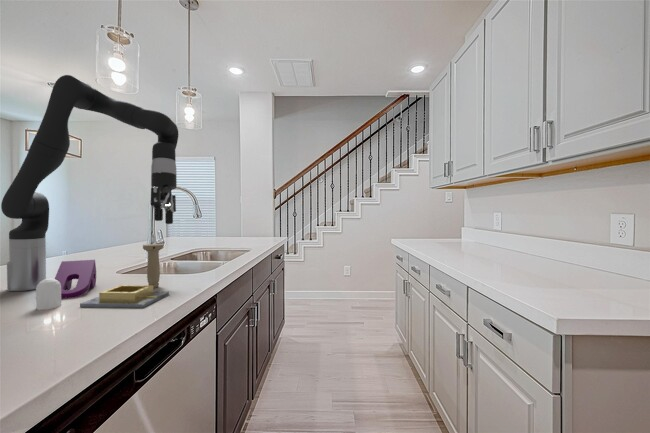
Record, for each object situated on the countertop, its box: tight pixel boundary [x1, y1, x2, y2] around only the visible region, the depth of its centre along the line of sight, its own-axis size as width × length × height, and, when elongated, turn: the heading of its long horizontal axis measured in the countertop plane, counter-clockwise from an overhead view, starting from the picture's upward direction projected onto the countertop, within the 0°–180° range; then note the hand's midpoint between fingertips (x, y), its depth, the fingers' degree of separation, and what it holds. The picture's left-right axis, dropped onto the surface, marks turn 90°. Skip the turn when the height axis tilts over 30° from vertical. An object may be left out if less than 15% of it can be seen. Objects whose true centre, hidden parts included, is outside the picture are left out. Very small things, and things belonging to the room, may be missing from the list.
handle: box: [142, 243, 165, 289], centre depth 113 cm, size 5×6×15 cm
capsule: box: [35, 278, 62, 311], centre depth 90 cm, size 5×5×8 cm
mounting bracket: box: [54, 259, 97, 300], centre depth 107 cm, size 9×8×18 cm
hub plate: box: [79, 284, 170, 309], centre depth 96 cm, size 18×14×4 cm
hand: (164, 222), depth 104 cm, fingers open, 8 cm apart
